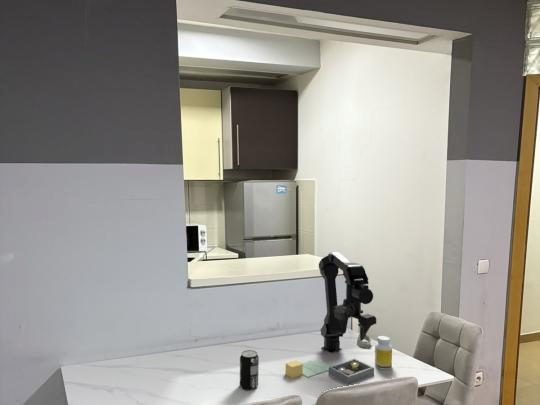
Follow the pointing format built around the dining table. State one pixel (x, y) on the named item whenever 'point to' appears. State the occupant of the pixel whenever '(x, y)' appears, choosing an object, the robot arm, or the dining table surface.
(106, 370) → the dining table surface
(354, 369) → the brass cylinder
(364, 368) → the tub
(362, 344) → the wristwatch
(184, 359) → the dining table surface
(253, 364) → the beverage can
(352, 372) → the walnut block
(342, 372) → the chrome dome knob
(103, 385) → the dining table surface
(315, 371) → the grooved mint slab
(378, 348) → the pill bottle
